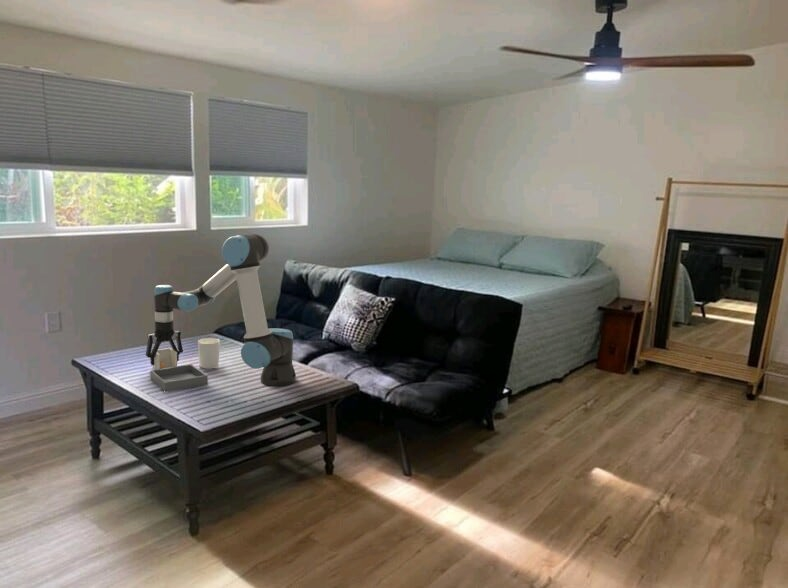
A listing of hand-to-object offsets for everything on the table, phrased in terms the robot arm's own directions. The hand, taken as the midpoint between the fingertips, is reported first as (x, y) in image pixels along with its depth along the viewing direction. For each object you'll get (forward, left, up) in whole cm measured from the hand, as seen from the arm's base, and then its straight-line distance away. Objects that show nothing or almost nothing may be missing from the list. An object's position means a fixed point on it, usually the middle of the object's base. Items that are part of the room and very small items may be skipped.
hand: (164, 369), depth 249 cm
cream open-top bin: (0, 0, 0) cm, 0 cm away
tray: (-17, 0, 0) cm, 17 cm away
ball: (+1, +1, +2) cm, 2 cm away
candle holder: (-3, -19, -1) cm, 19 cm away
